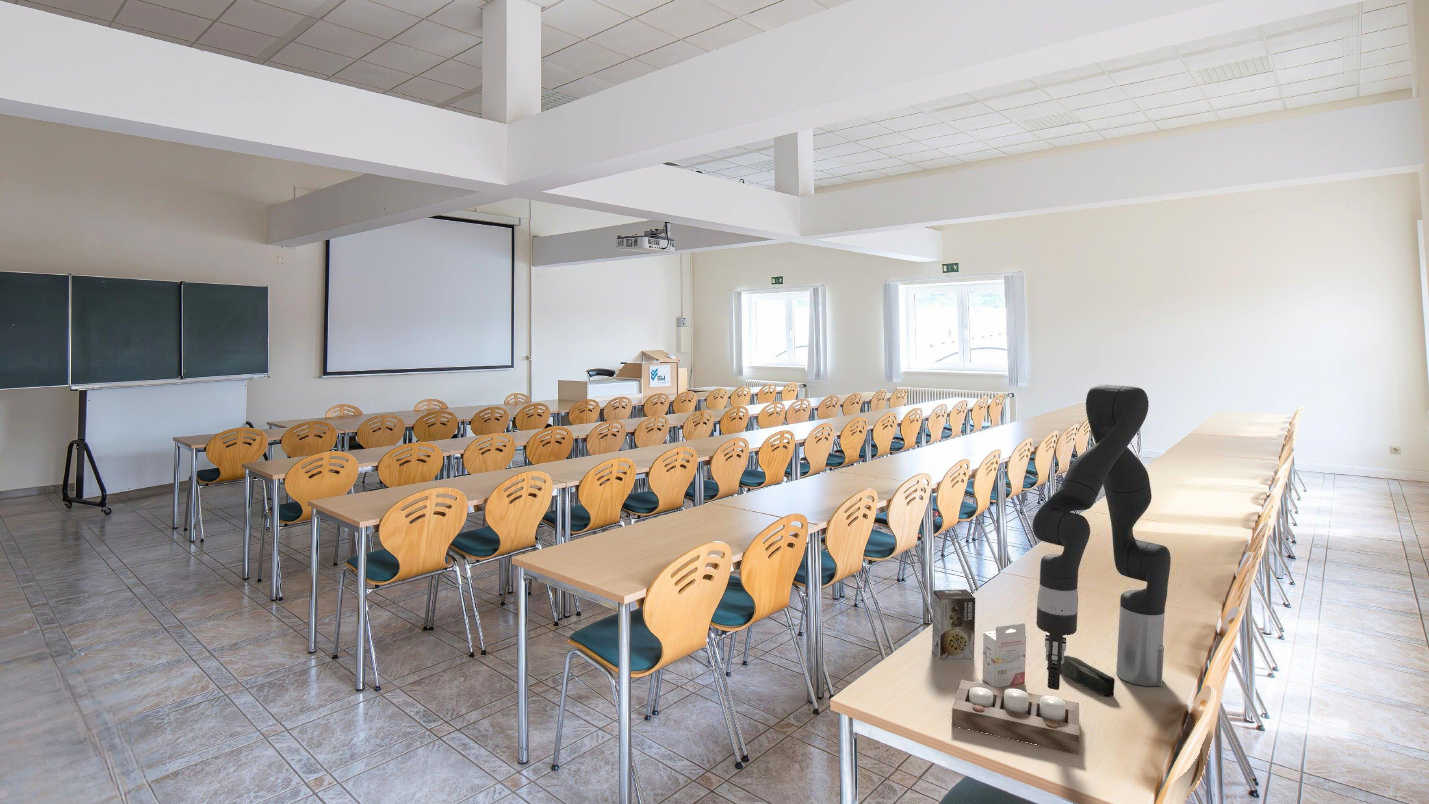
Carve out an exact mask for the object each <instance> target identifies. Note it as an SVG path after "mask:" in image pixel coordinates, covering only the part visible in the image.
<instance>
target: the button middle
mask: <svg viewBox="0 0 1429 804" xmlns="http://www.w3.org/2000/svg"><path fill="white" fill-rule="evenodd" d="M1006 689H1007V690H1005V691H1004V710H1008V711H1012V712H1017V713H1022V714H1027V715H1028V705H1029V695H1028V694H1027V693H1028V692H1027V693H1026V691H1024V690H1022V689H1018V688H1006Z"/></svg>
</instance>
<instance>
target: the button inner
mask: <svg viewBox="0 0 1429 804" xmlns="http://www.w3.org/2000/svg"><path fill="white" fill-rule="evenodd" d="M1042 696H1043V697H1041V698H1040V717H1041V718H1046V719H1050V720H1055V721H1060V722H1065V709H1066V703H1065V701H1063V700H1064V699H1061V698H1060V697H1057V696H1053V695H1042Z"/></svg>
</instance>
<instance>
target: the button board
mask: <svg viewBox="0 0 1429 804" xmlns="http://www.w3.org/2000/svg"><path fill="white" fill-rule="evenodd" d="M974 687H981V688H986V689H988V690H990V691H991V692H992V693H993V707H989V706H984V705H979V704H974V703H969V693H970V689H971V688H974ZM1007 689H1008V688H1005V687H996V686H992V685H990V684H985V683H981V682H975V681H971V680H966V679H961V680H960V683H959V686H958V688H957V692H956V695H955V697H954V698H955V699H954V701H953V704H952V708H951V709H952V710H951V727H953V726H954V727H955V728H958V727H960V728H959V729H962V728H964V729H963V730H967V729H970V730H969V731H971V730H973V731H972V732H975V731H978V732H977V733H980V732H983V733H982V734H984V733H988V734H987V735H989V734H992V735H991V736H993V735H995V736H994V737H998V736H1000V737H999V738H1002V737H1003V739H1006V738H1009V739H1008V740H1011V739H1014V740H1013V741H1015V740H1019V741H1018V742H1020V741H1023V742H1022V743H1024V742H1028V743H1027V744H1029V743H1032V744H1031V745H1033V744H1037V745H1036V746H1038V745H1039V746H1038V747H1042V746H1043V747H1042V748H1046V749H1047V748H1048V749H1051V750H1056V751H1059V752H1065V753H1069V754H1074V755H1078V756H1079V754H1080V753H1079V751H1080V749H1079V748H1080V702H1076V701H1071V700H1066V699H1062V700H1063V701H1065V703H1066V709H1065V722H1060V721H1055V720H1050V719H1046V718H1041V717H1040V698H1041V697H1043V696H1044V695H1041V694H1036V693H1031V692H1026V691H1025V692H1026V693H1027V694H1028V695H1029V705H1028V715H1027V714H1022V713H1017V712H1012V711H1008V710H1004V691H1005V690H1007Z"/></svg>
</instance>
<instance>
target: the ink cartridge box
mask: <svg viewBox="0 0 1429 804" xmlns="http://www.w3.org/2000/svg"><path fill="white" fill-rule="evenodd" d="M1026 633H1027V632H1026V624H1025V623H1023V622H1022V623H1017V624H1016V623H1015V624H1008V625H1001V626H996V627H995V630H993V631H983V635H982V636H983V639H982V641H983V643H982V645H983V646H982V680H983V681H985V682H986V683H987V684H988V685H991V686H996V687H1001V688H1004V687H1009V686H1014V685H1022V684H1024V683H1025V682H1026V659H1027V658H1026V653H1027V652H1026V651H1027V635H1026Z"/></svg>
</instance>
